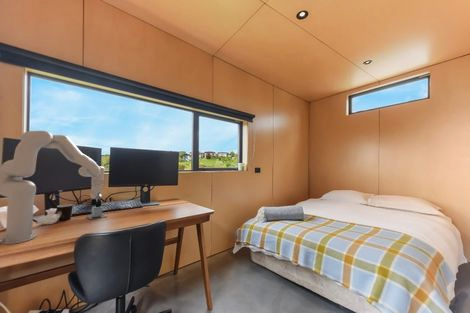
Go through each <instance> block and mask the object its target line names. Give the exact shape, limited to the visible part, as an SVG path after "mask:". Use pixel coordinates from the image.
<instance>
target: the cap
mask: <svg viewBox="0 0 470 313" xmlns="http://www.w3.org/2000/svg"><path fill="white" fill-rule="evenodd" d="M102 214H103V206H102V205H101V207H97V208H96V205H94V206H91V216H93V217H98V216H102Z"/></svg>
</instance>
